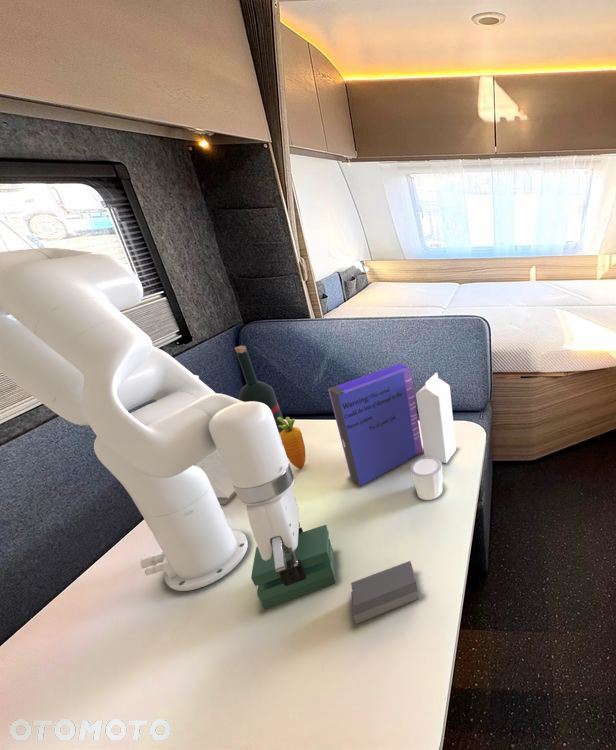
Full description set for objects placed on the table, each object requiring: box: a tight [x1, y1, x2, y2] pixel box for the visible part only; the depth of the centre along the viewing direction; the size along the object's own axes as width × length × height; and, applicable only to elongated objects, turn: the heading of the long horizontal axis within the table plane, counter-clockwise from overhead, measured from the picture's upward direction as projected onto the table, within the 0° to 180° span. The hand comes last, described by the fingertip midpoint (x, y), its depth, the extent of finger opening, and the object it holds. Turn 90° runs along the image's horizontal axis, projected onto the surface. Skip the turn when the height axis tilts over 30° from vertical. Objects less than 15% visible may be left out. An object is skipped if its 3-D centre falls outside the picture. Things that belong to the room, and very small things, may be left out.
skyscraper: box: [194, 374, 236, 506], centre depth 83 cm, size 8×8×28 cm
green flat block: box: [250, 524, 330, 587], centre depth 64 cm, size 11×6×2 cm, turn 114°
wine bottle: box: [234, 345, 284, 433], centre depth 96 cm, size 8×10×30 cm
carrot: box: [277, 416, 306, 470], centre depth 92 cm, size 5×5×15 cm
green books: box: [256, 538, 337, 610], centre depth 66 cm, size 11×6×4 cm, turn 114°
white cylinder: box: [409, 456, 443, 501], centre depth 85 cm, size 7×7×7 cm
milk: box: [415, 372, 457, 464], centre depth 94 cm, size 6×6×22 cm
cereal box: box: [327, 363, 424, 488], centre depth 90 cm, size 17×5×24 cm, turn 136°
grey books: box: [350, 560, 420, 625], centre depth 63 cm, size 10×4×4 cm, turn 114°
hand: (296, 563), depth 65 cm, fingers closed on green flat block, 6 cm apart
